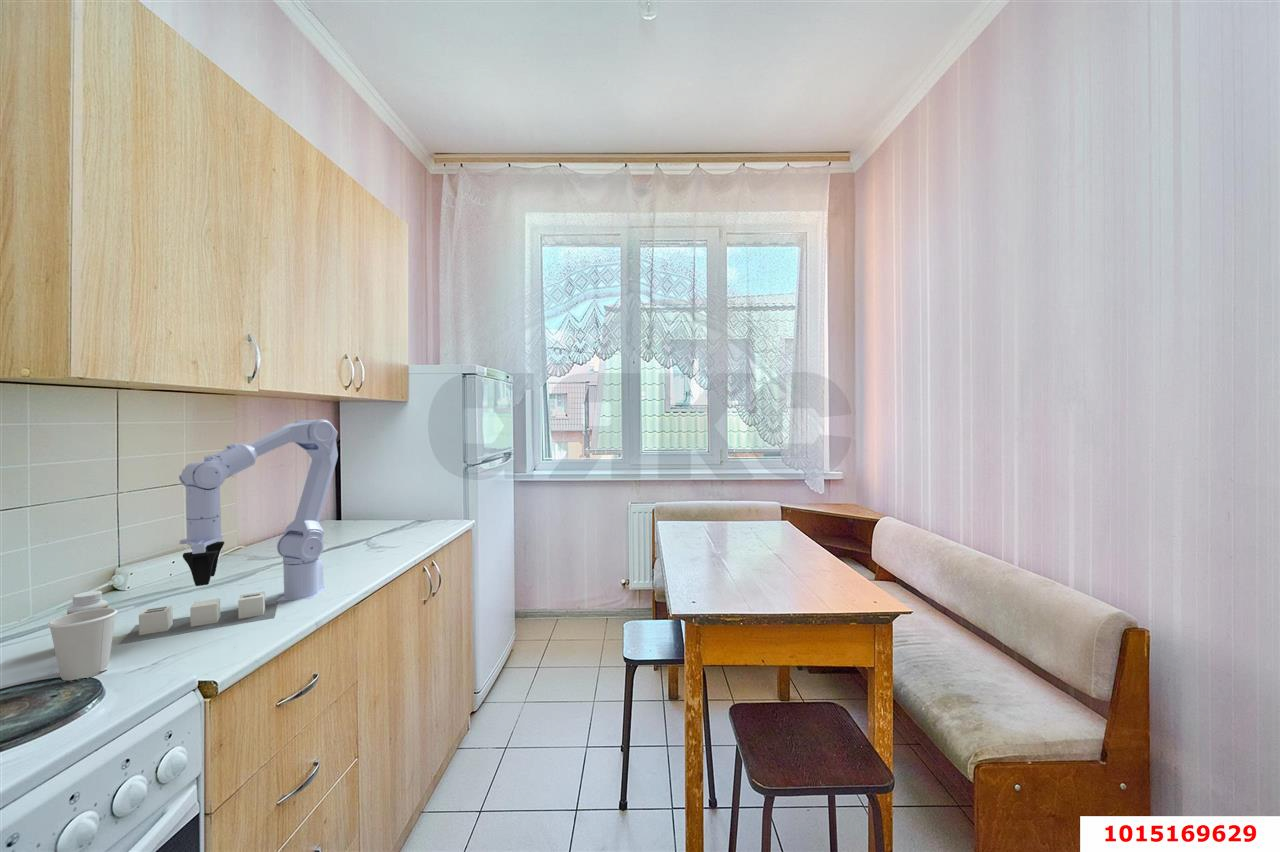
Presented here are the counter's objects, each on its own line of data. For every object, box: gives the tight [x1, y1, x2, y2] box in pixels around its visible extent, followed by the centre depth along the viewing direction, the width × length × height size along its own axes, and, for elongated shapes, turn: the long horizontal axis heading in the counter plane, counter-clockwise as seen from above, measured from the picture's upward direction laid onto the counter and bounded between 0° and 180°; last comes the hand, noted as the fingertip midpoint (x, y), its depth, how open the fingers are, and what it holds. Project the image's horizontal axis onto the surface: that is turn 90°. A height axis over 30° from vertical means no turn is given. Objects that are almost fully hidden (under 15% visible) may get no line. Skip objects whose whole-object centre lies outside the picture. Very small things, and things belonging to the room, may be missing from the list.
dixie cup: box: [47, 607, 118, 681], centre depth 92 cm, size 8×8×10 cm
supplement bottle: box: [66, 590, 109, 615], centre depth 105 cm, size 6×6×10 cm
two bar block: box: [138, 604, 174, 635], centre depth 111 cm, size 4×4×4 cm
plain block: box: [189, 598, 221, 627], centre depth 115 cm, size 4×4×4 cm
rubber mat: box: [117, 602, 279, 645], centre depth 115 cm, size 25×12×1 cm, turn 121°
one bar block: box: [237, 591, 266, 619], centre depth 119 cm, size 4×4×4 cm
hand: (205, 580), depth 115 cm, fingers open, 7 cm apart
